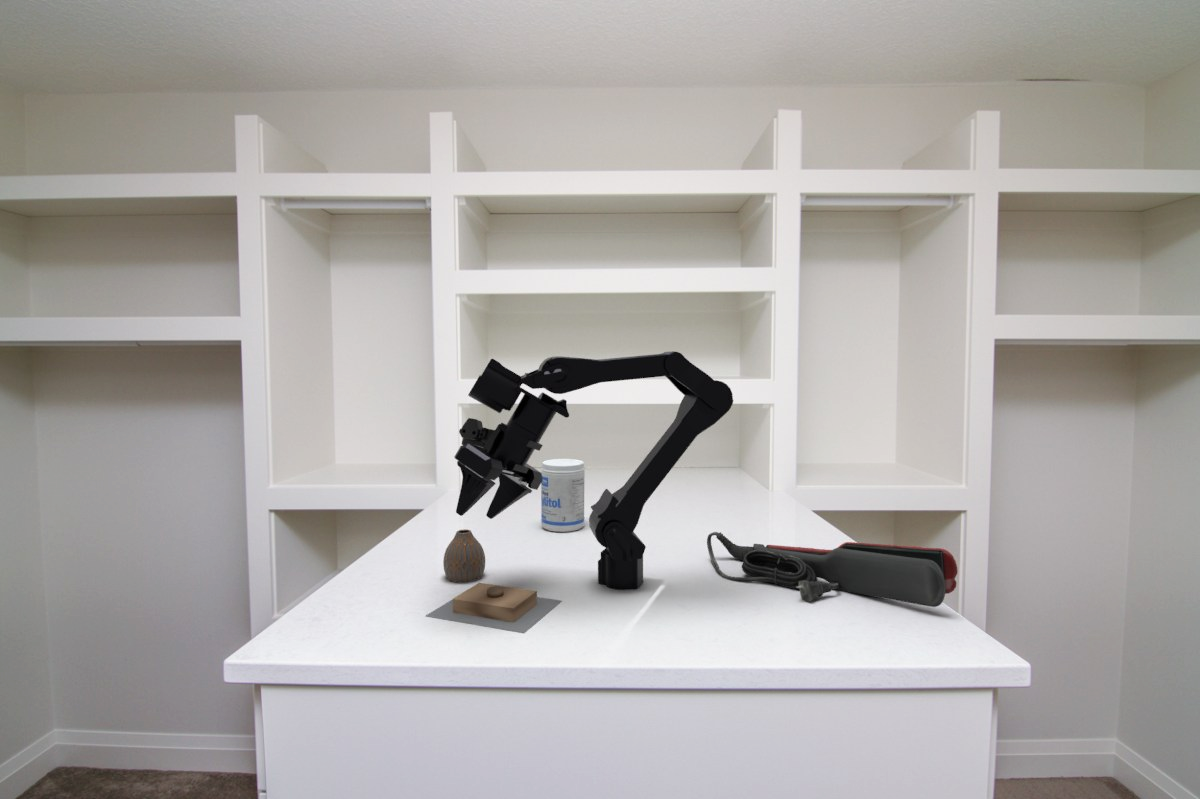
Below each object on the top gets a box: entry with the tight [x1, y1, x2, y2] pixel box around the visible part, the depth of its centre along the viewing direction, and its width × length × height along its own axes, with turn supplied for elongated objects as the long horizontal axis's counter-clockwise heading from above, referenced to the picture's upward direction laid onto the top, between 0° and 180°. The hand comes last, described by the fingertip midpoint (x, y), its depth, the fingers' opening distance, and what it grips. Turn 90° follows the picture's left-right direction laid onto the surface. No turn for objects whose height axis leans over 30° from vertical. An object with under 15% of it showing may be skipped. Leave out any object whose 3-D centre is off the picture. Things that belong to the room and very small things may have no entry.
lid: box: [452, 582, 538, 622], centre depth 93 cm, size 10×7×3 cm
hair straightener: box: [706, 531, 959, 608], centre depth 103 cm, size 16×40×8 cm, turn 51°
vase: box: [442, 529, 486, 583], centre depth 106 cm, size 7×7×9 cm
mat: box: [425, 596, 563, 634], centre depth 93 cm, size 16×12×1 cm
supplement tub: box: [540, 458, 585, 533], centre depth 140 cm, size 10×10×15 cm
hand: (474, 515), depth 97 cm, fingers open, 9 cm apart
